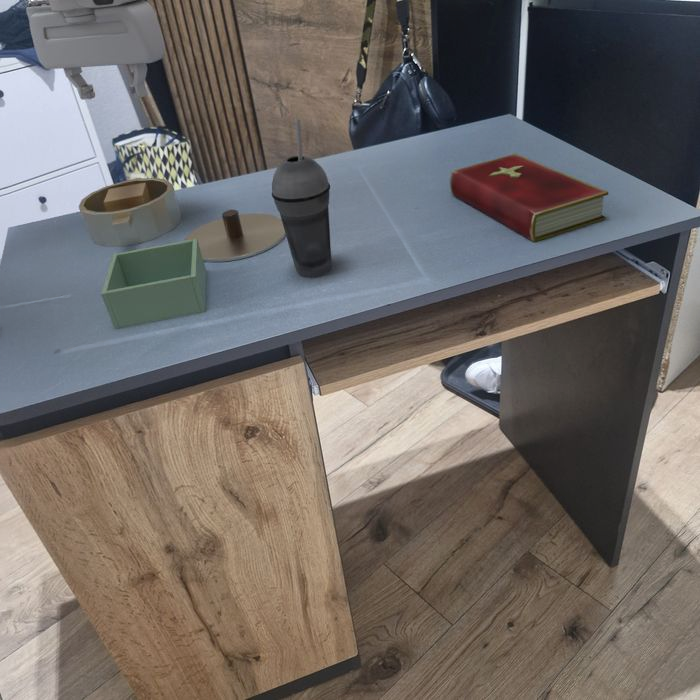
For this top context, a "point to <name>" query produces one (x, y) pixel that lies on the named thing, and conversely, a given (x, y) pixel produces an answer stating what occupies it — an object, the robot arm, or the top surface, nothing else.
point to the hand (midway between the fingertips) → (113, 97)
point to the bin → (155, 284)
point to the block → (126, 197)
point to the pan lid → (237, 236)
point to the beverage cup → (304, 211)
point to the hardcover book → (528, 196)
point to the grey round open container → (131, 215)
